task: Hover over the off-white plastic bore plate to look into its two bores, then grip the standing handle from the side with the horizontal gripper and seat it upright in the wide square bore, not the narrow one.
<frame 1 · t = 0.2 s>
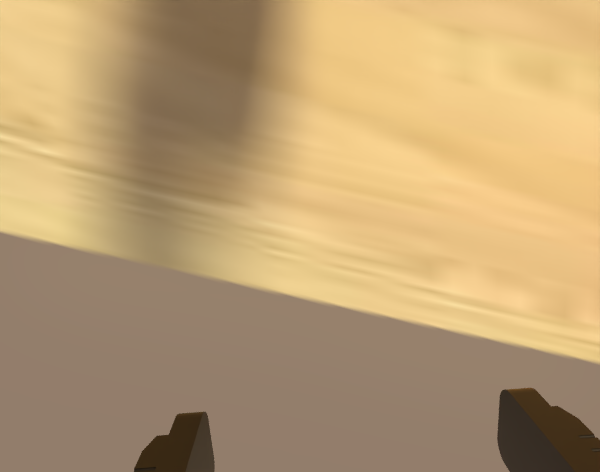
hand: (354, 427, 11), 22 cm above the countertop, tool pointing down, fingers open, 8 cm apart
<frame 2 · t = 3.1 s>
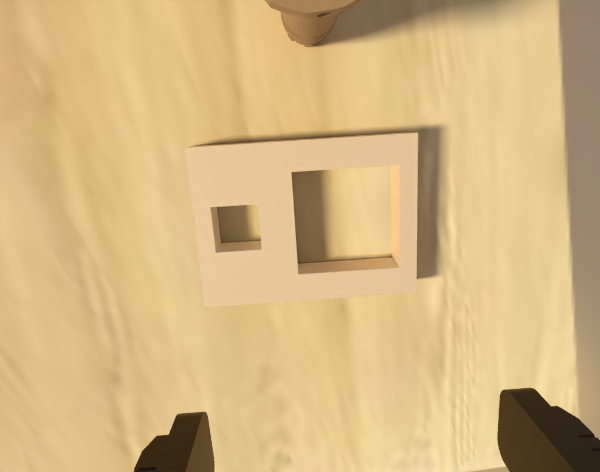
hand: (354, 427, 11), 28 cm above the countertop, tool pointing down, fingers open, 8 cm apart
bore plate: (305, 216, 39), on the countertop
handle: (305, 27, 35), on the countertop
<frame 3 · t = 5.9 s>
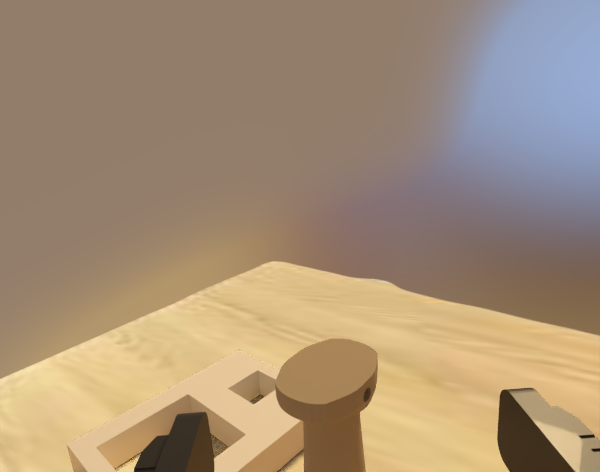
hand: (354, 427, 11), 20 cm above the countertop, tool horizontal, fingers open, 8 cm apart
bore plate: (210, 446, 39), on the countertop
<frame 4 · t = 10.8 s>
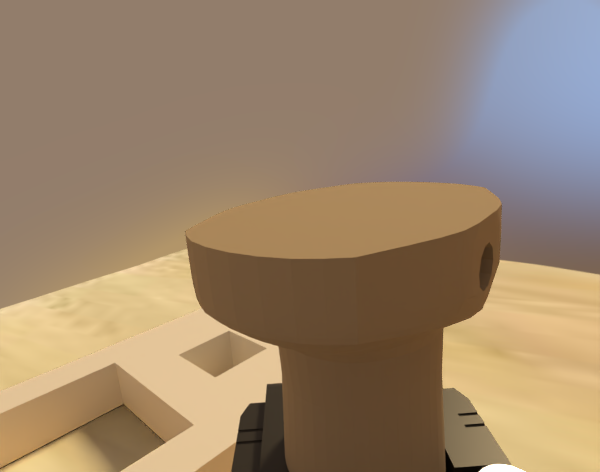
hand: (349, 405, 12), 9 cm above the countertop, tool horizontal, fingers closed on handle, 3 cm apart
bore plate: (141, 445, 23), on the countertop
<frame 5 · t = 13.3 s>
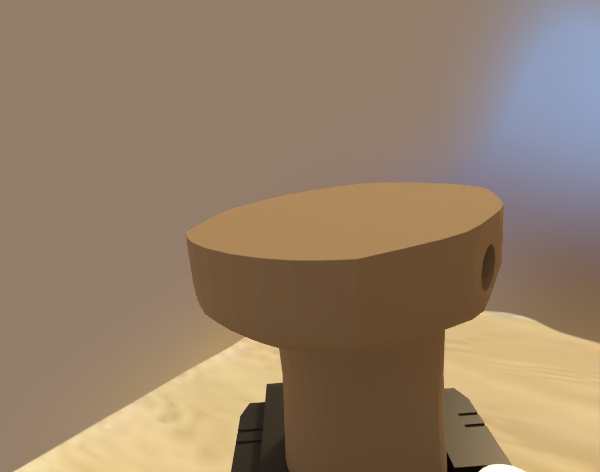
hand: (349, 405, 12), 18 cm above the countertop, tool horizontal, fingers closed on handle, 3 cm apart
when the fingers open (10 cm above the countertop, at t = 16.2 s): handle drops 1 cm, resting in bore plate.
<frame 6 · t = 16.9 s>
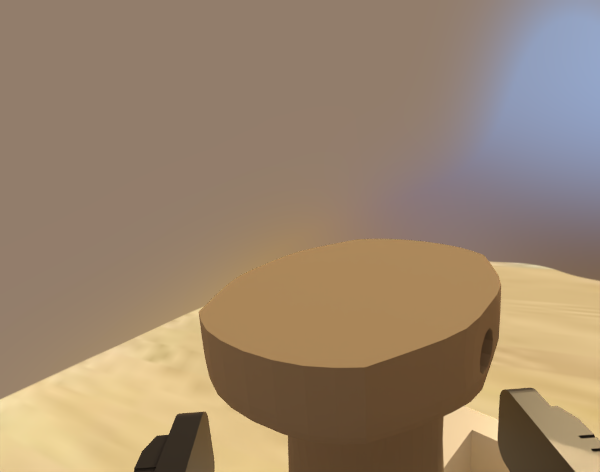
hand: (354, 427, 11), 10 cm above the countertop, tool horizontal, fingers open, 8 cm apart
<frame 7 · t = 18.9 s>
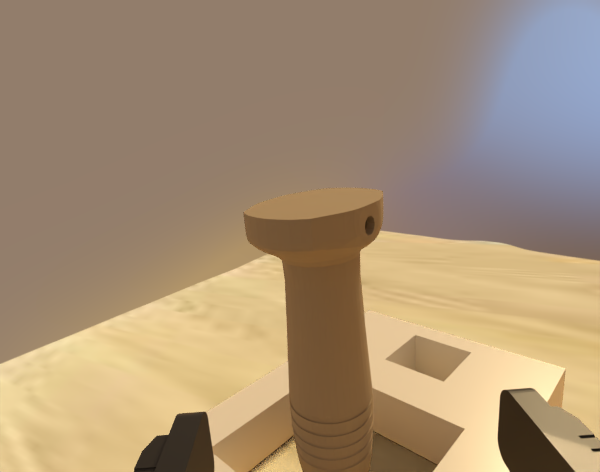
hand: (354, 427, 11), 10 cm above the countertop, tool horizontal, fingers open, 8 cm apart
bore plate: (377, 448, 24), on the countertop
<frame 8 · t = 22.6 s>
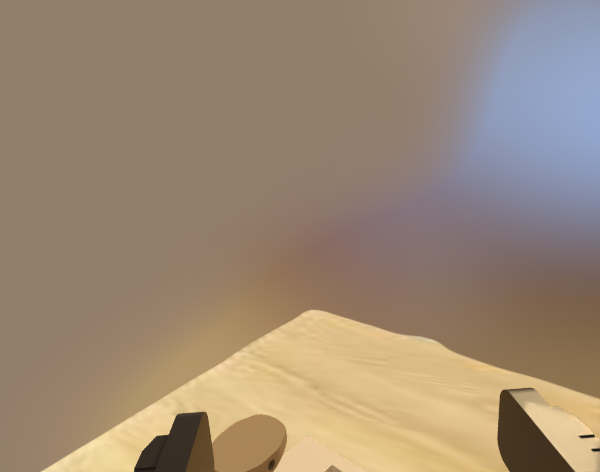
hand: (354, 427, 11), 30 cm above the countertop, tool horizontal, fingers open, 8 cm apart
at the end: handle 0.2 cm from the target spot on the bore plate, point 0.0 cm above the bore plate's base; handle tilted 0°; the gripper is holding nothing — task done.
